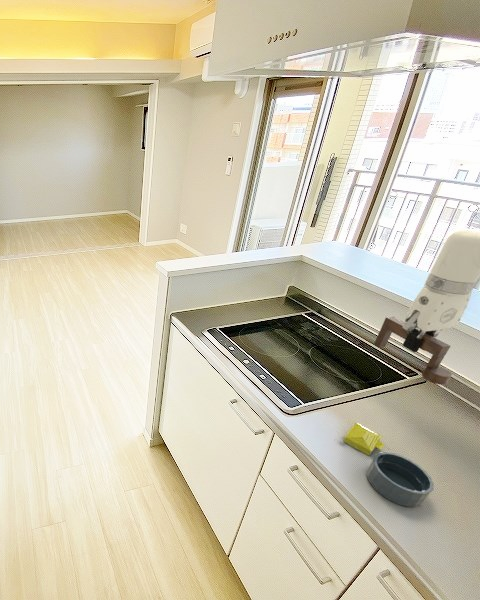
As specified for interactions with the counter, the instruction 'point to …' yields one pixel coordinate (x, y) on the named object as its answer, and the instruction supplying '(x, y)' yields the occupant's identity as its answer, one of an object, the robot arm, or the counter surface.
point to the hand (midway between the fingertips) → (414, 347)
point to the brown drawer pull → (428, 344)
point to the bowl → (399, 479)
